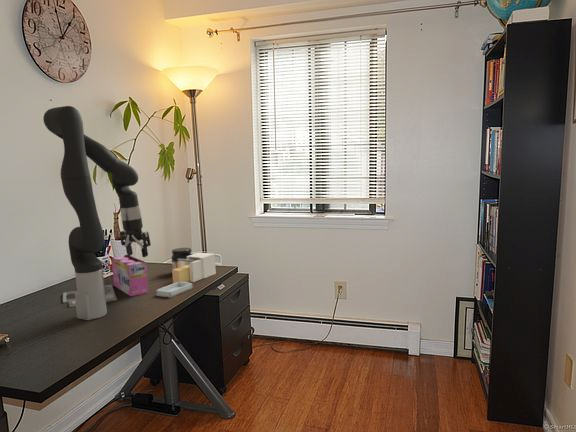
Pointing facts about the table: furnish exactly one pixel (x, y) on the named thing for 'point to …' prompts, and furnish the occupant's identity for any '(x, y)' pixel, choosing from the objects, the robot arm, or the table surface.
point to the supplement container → (179, 255)
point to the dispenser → (199, 265)
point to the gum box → (130, 275)
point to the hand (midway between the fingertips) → (137, 255)
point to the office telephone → (108, 296)
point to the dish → (174, 289)
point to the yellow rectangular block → (181, 274)
